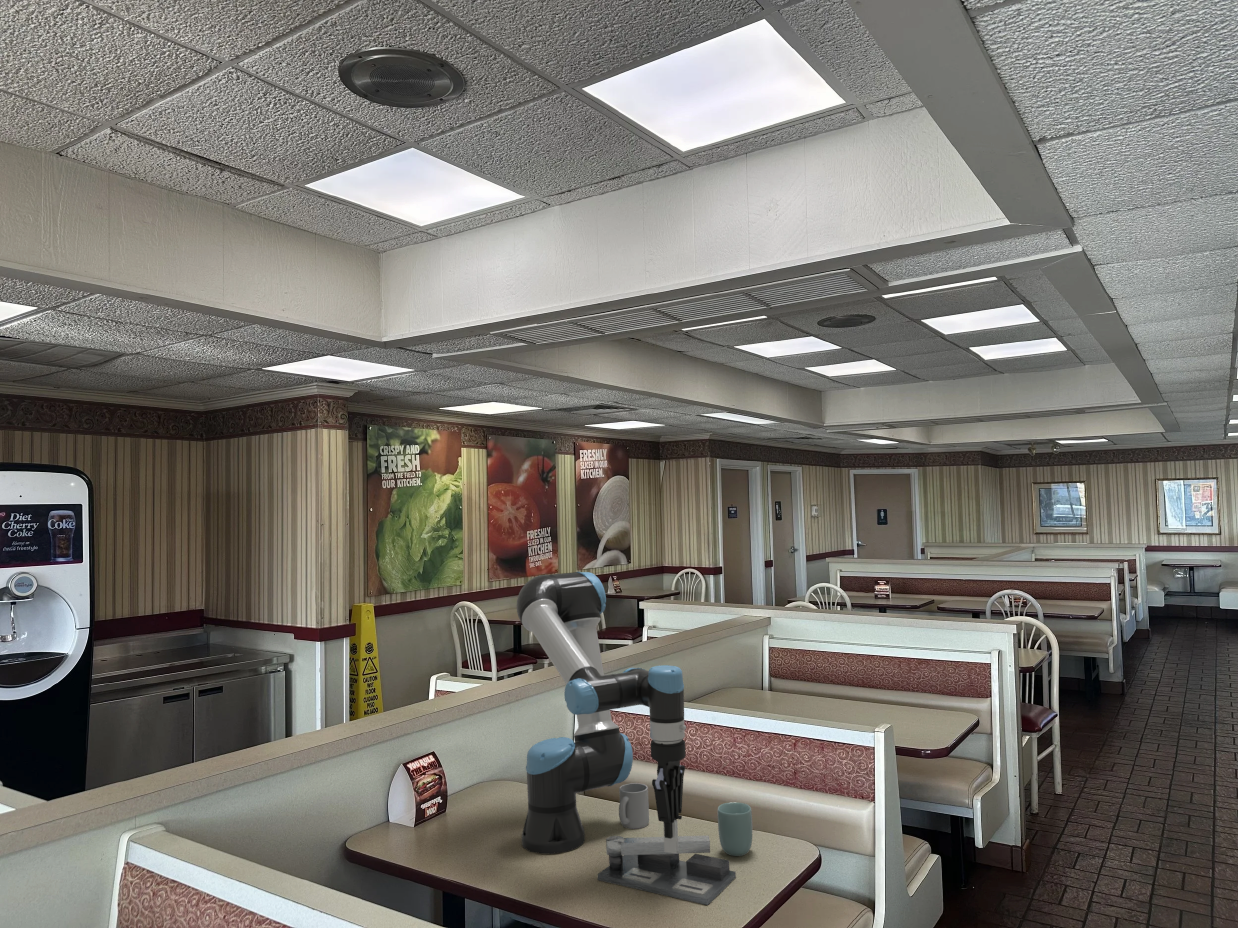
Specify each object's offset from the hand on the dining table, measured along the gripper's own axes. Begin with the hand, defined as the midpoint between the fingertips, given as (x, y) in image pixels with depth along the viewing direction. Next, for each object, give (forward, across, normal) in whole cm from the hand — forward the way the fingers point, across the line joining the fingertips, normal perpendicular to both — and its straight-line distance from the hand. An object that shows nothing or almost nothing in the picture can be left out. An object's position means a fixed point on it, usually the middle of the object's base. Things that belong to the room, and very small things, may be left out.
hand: (671, 851), depth 179 cm
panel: (+6, -1, +1) cm, 6 cm away
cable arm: (+1, +1, +4) cm, 4 cm away
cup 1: (+6, +24, +21) cm, 32 cm away
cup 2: (+5, +17, -9) cm, 20 cm away
